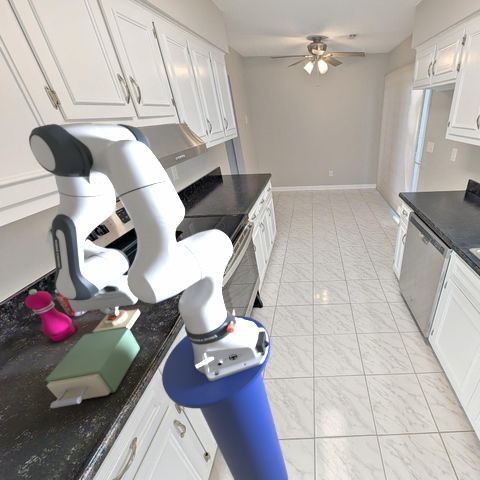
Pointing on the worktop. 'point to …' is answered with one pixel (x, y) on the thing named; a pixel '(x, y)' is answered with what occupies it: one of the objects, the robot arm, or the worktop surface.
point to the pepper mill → (49, 315)
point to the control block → (118, 321)
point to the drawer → (77, 389)
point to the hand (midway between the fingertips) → (114, 315)
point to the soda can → (67, 305)
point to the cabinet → (99, 357)
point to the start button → (114, 317)
